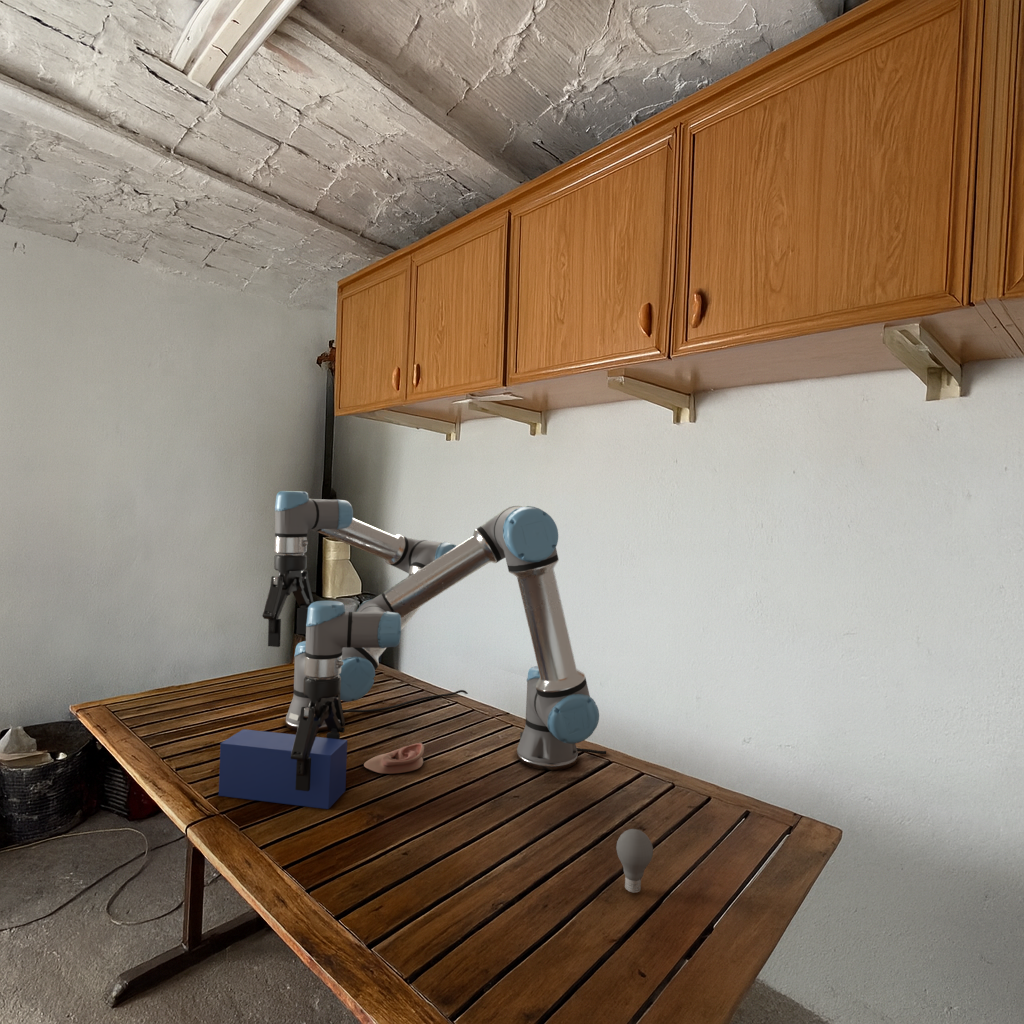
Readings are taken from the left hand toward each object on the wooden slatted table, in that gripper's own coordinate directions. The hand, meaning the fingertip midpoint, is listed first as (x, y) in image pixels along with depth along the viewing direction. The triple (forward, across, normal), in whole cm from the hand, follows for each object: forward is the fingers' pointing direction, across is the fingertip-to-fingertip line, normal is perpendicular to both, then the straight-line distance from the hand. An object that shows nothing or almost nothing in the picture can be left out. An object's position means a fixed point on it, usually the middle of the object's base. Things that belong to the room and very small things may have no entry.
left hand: (288, 640), depth 156 cm
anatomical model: (+28, -1, -28) cm, 40 cm away
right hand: (+23, -20, -18) cm, 36 cm away
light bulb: (+28, -38, -83) cm, 96 cm away
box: (+27, -21, -11) cm, 36 cm away
